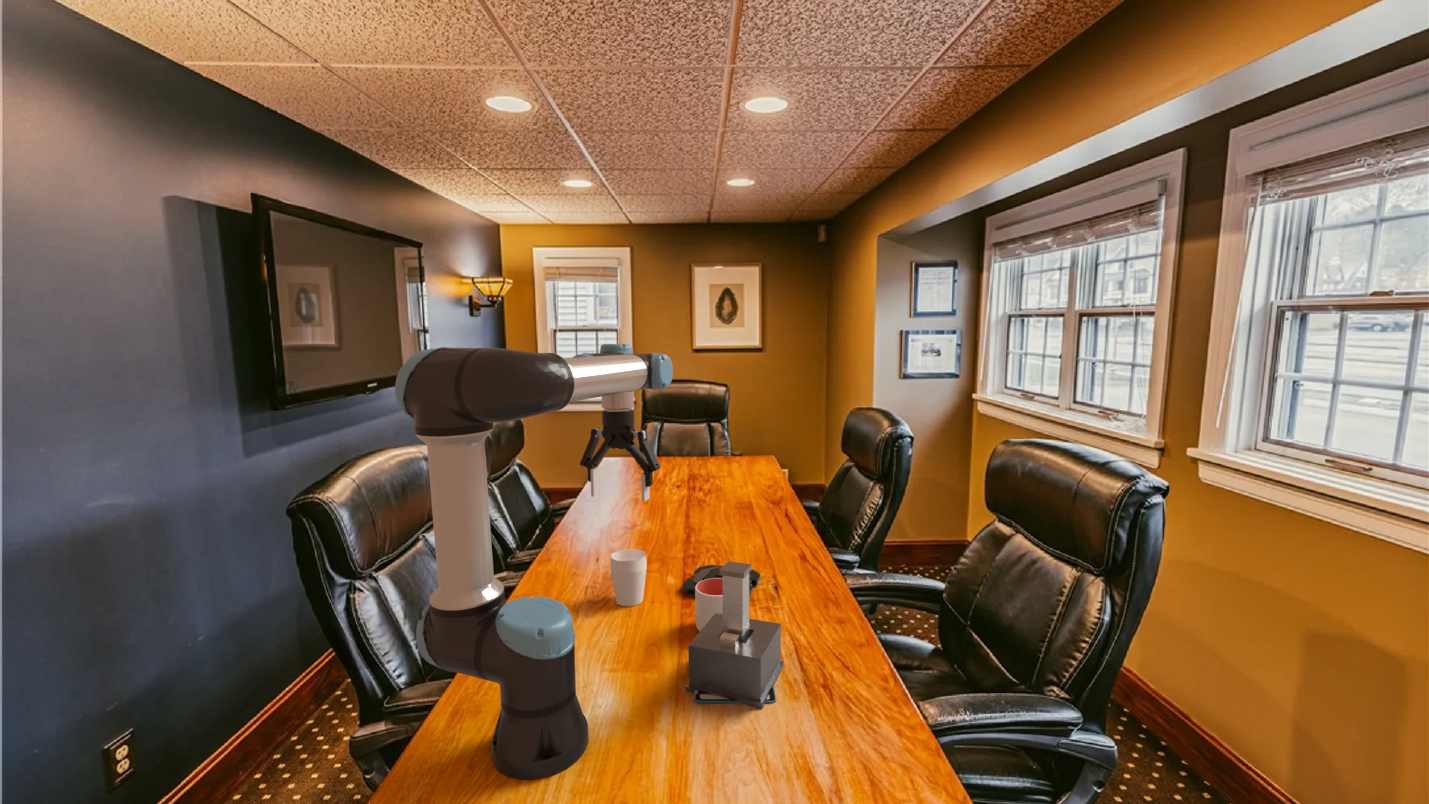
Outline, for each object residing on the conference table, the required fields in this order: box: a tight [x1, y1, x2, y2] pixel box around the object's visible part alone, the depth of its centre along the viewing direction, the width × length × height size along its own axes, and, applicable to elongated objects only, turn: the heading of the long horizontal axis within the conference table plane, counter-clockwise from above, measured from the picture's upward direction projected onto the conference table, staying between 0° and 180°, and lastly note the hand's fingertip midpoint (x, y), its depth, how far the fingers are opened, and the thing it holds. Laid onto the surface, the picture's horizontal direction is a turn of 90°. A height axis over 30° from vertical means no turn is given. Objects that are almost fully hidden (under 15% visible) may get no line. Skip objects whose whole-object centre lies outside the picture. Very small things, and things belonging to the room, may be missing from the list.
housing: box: [685, 613, 785, 709], centre depth 117 cm, size 15×15×10 cm
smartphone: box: [693, 685, 777, 706], centre depth 113 cm, size 7×1×15 cm
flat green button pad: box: [682, 564, 762, 598], centre depth 160 cm, size 18×18×5 cm
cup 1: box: [610, 548, 648, 607], centre depth 151 cm, size 9×9×12 cm
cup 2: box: [694, 578, 723, 632], centre depth 137 cm, size 10×10×10 cm
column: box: [720, 560, 753, 644], centre depth 116 cm, size 5×5×21 cm
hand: (620, 497), depth 145 cm, fingers open, 13 cm apart
